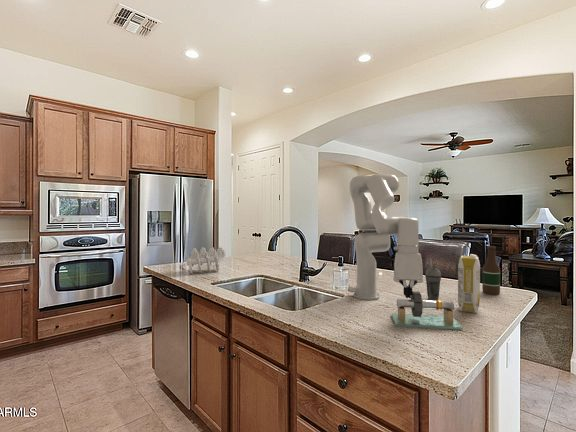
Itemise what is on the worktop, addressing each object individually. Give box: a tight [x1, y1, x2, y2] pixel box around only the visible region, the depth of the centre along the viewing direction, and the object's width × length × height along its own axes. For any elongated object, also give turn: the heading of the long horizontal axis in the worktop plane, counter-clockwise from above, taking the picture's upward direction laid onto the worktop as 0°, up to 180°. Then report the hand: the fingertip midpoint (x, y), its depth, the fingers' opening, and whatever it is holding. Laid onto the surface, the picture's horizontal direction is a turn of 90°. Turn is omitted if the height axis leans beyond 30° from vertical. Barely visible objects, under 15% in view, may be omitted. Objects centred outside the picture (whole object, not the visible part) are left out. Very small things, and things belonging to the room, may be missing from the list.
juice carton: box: [457, 253, 481, 314], centre depth 137 cm, size 9×8×24 cm
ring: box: [410, 290, 423, 317], centre depth 123 cm, size 2×9×9 cm, turn 169°
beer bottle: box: [482, 245, 501, 296], centre depth 164 cm, size 8×8×24 cm
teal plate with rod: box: [390, 298, 464, 331], centre depth 123 cm, size 23×12×9 cm, turn 79°
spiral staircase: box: [185, 246, 226, 274], centre depth 223 cm, size 18×18×25 cm
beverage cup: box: [424, 257, 443, 301], centre depth 153 cm, size 7×7×20 cm
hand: (407, 297), depth 124 cm, fingers closed
